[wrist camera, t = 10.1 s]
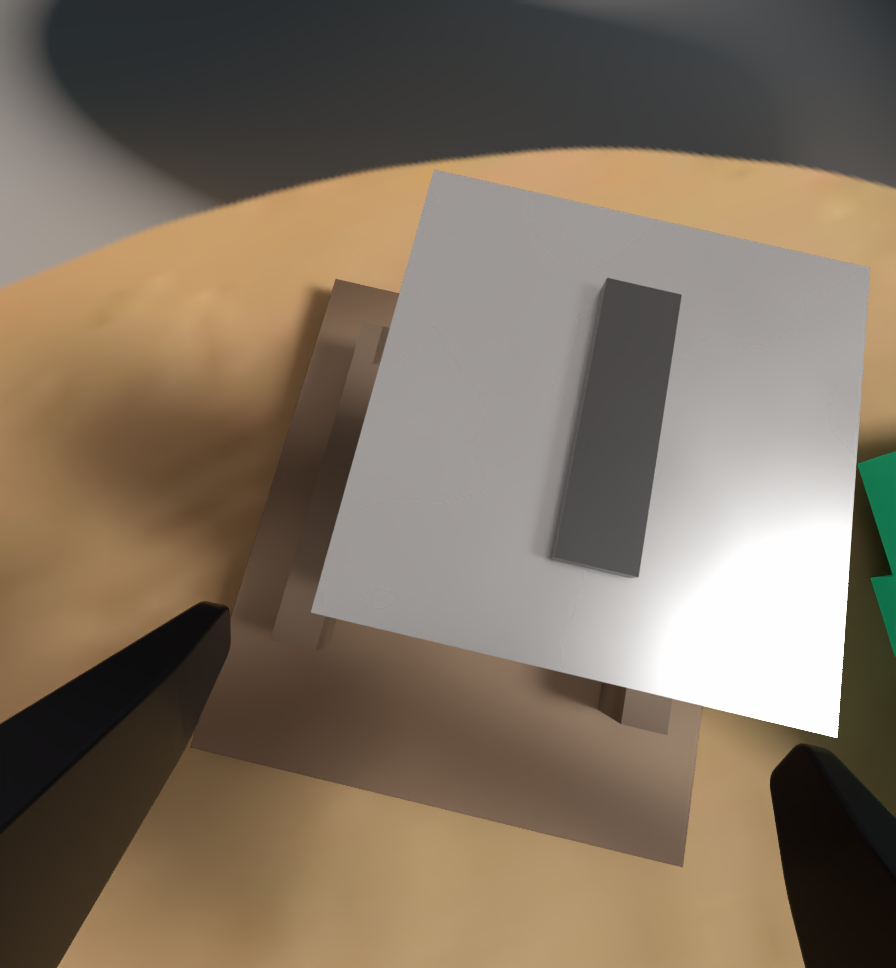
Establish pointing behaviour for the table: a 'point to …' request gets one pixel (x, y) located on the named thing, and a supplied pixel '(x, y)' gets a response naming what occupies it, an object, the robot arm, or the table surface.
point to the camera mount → (884, 530)
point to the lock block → (612, 454)
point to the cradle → (424, 666)
